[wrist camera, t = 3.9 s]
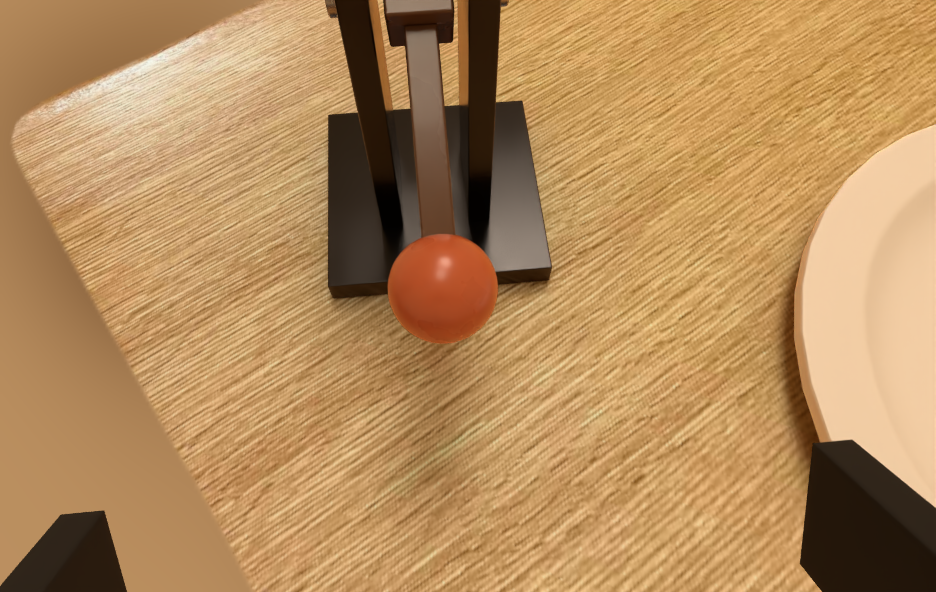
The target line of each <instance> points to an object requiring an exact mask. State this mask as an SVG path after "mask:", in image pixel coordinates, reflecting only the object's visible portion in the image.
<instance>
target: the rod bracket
mask: <svg viewBox="0 0 936 592" xmlns="http://www.w3.org/2000/svg"><path fill="white" fill-rule="evenodd" d="M508 2H509V0H457V3H458V62H459V105H455V106H444V107H445V119H446V130H447V142H448V153H449V165H450V176H451V188H452V199H453V211H454V222H455V234H456V235H458V236H461V237H464V238H466V239H468V240H470V241H472V242H473V243H475V244H476V245H477V246H479V247H480V248H481V249H482V250H483V251H484V252H485V254H486V255H487V256H488V257H489V259H490V261H491V262H492V265H493V267H494V269H495V272H496V276H497V282H498V284H508V283H519V282H531V281H543V280H549V278H550V273H551V269H552V265H551V259H550V254H549V248H548V242H547V237H546V231H545V226H544V220H543V214H542V209H541V203H540V197H539V192H538V186H537V181H536V175H535V169H534V164H533V158H532V152H531V147H530V141H529V136H528V130H527V124H526V119H525V113H524V107H523V102H522V101H510V102H496V87H497V68H498V48H499V29H500V10H501V7H504V6H507V5H508ZM325 3H326V8H327V12H328V15H329V17H330V18H338V21H339V26H340V31H341V36H342V40H343V45H344V50H345V54H346V59H347V64H348V69H349V73H350V78H351V83H352V87H353V92H354V97H355V101H356V106H357V111H358V113H346V114H332V115H328V287H329V289H330V292H331V294H332V297H333V298H343V297H355V296H367V295H379V294H388V278H389V274H390V271H391V268H392V266H393V264H394V262H395V260H396V258H397V257H398V256H399V254H400V253H401V252H402V251H403V250H404V249H405V248H406V247H407V246H408V245H409V244H411V243H412V242H414V241H416V240H417V239H419V238H421V226H420V214H419V202H418V191H417V179H416V167H415V155H414V144H413V132H412V120H411V109H401V110H393V105H392V98H391V92H390V85H389V78H388V71H387V64H386V57H385V50H384V43H383V36H382V29H381V22H380V15H379V8H378V1H377V0H325Z"/></svg>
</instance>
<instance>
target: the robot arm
mask: <svg viewBox="0 0 936 592" xmlns="http://www.w3.org/2000/svg"><path fill="white" fill-rule="evenodd" d="M800 564H801V566H802V567H803V568H804V569H805V571H806V572H807V573H808V575H809V576H810V577H811V578H812V580H813V581H814V582H815V583H816V585H817V586H818V587H819V588H820V590H821V591H822V592H936V508H935V507H934V506H933V505H932V504H930V503H929V502H928V501H927V500H925V499H924V498H923V497H922V496H921V495H919V494H918V493H917V492H916V491H914V490H913V489H912V488H911V487H910V486H908V485H907V484H906V483H905V482H904V481H902V480H901V479H900V478H899V477H897V476H896V475H895V474H894V473H893V472H891V471H890V470H889V469H888V468H886V467H885V466H884V465H883V464H882V463H880V462H879V461H878V460H877V459H876V458H874V457H873V456H872V455H871V454H869V453H868V452H867V451H866V450H865V449H863V448H862V447H861V446H860V445H858V444H857V443H856V442H855V441H854V440H841V441H831V442H820V443H813V447H812V456H811V465H810V475H809V484H808V493H807V503H806V512H805V521H804V531H803V540H802V549H801V559H800ZM0 592H127V590H126V587H125V583H124V580H123V576H122V573H121V569H120V565H119V562H118V558H117V555H116V551H115V547H114V544H113V540H112V537H111V533H110V530H109V526H108V522H107V519H106V515H105V512H104V511H94V512H83V513H73V514H64V515H63V514H62V515H60V516H59V518H58V519H57V520H56V521H55V522H54V523H53V525H52V526H51V527H50V528H49V529H48V530H47V532H46V533H45V534H44V535H43V536H42V537H41V539H40V540H39V541H38V542H37V543H36V545H35V546H34V547H33V548H32V549H31V550H30V552H29V553H28V554H27V555H26V556H25V558H24V559H23V560H22V561H21V562H20V563H19V565H18V566H17V567H16V568H15V569H14V570H13V572H12V573H11V574H10V575H9V576H8V577H7V579H6V580H5V581H4V582H3V583H2V585H1V586H0Z"/></svg>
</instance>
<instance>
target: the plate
mask: <svg viewBox="0 0 936 592" xmlns="http://www.w3.org/2000/svg"><path fill="white" fill-rule="evenodd" d="M794 341H795V347H796V353H797V359H798V365H799V371H800V377H801V383H802V389H803V392H804V395H805V398H806V401H807V404H808V407H809V410H810V413H811V416H812V419H813V422H814V425H815V428H816V431H817V434H818V437H819V440H820V442H831V441H841V440H854V441H855V442H856V443H857V444H858V445H860V446H861V447H862V448H863V449H865V450H866V451H867V452H868V453H869V454H871V455H872V456H873V457H874V458H876V459H877V460H878V461H879V462H880V463H882V464H883V465H884V466H885V467H886V468H888V469H889V470H890V471H891V472H893V473H894V474H895V475H896V476H897V477H899V478H900V479H901V480H902V481H904V482H905V483H906V484H907V485H908V486H910V487H911V488H912V489H913V490H914V491H916V492H917V493H918V494H919V495H921V496H922V497H923V498H924V499H925V500H927V501H928V502H929V503H930V504H932V505H933V506H934V507H935V508H936V124H935V125H933V126H930V127H927V128H924V129H922V130H919V131H916V132H914V133H911V134H908V135H906V136H904V137H903V138H901V139H899V140H897V141H896V142H894V143H892V144H891V145H889V146H887V147H886V148H884V149H882V150H881V151H879V152H877V153H876V154H874V155H873V156H872V157H871V158H869V159H868V160H867V161H866V162H865V163H864V164H863V165H862V166H861V167H859V168H858V169H857V170H856V171H855V172H854V173H853V174H852V175H851V176H849V177H848V178H847V179H846V180H845V182H844V183H843V184H842V185H841V186H840V188H839V189H838V190H837V192H836V193H835V195H834V196H833V197H832V199H831V200H830V201H829V203H828V204H827V206H826V207H825V208H824V210H823V211H822V212H821V214H820V215H819V217H818V219H817V221H816V223H815V225H814V228H813V230H812V232H811V235H810V237H809V239H808V241H807V244H806V246H805V248H804V251H803V254H802V258H801V263H800V268H799V273H798V278H797V283H796V288H795V293H794Z"/></svg>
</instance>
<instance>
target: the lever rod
mask: <svg viewBox="0 0 936 592" xmlns="http://www.w3.org/2000/svg"><path fill="white" fill-rule="evenodd" d="M383 3H384V14H385V20H386V25H387V31H388V36H389V41H390V45H391V46H392V47H395V46H405V50H406V61H407V73H408V85H409V97H410V108H411V120H412V132H413V144H414V155H415V167H416V179H417V191H418V202H419V214H420V226H421V238H419V239H417V240H416V241H414V242H412V243H411V244H409V245H408V246H407V247H406V248H405V249H404V250H403V251H402V252H401V253H400V254H399V256H398V257H397V258H396V260H395V262H394V264H393V266H392V268H391V271H390V274H389V278H388V297H389V302H390V306H391V308H392V311H393V313H394V315H395V317H396V318H397V320H398V321H399V322H400V324H401V325H402V326H403V327H404V328H405V329H406V330H407V331H408V332H410V333H411V334H413V335H414V336H416V337H418V338H420V339H422V340H425V341H428V342H432V343H440V344H443V343H453V342H457V341H461V340H463V339H466V338H468V337H470V336H471V335H473V334H475V333H476V332H477V331H478V330H480V329H481V328H482V327H483V326H484V324H485V323H486V322H487V321H488V319H489V318H490V316H491V314H492V312H493V310H494V307H495V305H496V301H497V295H498V282H497V276H496V272H495V269H494V267H493V265H492V262H491V261H490V259H489V257H488V256H487V255H486V254H485V252H484V251H483V250H482V249H481V248H480V247H479V246H477V245H476V244H475V243H473V242H472V241H470V240H468V239H466V238H464V237H461V236H458V235H456V234H455V222H454V211H453V199H452V188H451V176H450V165H449V153H448V142H447V130H446V119H445V107H444V96H443V84H442V73H441V61H440V50H439V43H451V42H452V41H453V27H454V2H453V0H383Z"/></svg>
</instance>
